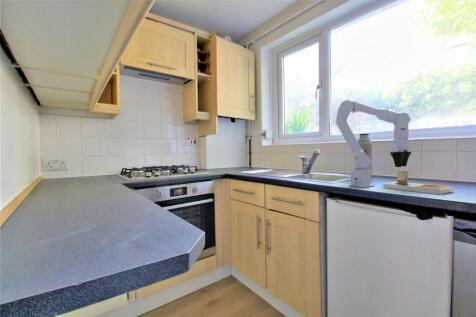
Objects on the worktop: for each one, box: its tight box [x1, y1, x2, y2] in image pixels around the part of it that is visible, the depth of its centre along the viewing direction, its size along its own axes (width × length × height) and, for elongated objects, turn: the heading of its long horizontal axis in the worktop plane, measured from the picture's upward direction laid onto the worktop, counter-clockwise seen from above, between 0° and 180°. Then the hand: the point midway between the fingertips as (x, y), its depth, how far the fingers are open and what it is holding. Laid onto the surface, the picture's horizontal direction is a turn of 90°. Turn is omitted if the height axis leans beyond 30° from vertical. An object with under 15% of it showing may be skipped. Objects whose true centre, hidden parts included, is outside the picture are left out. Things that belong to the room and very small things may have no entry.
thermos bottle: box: [357, 133, 373, 180], centre depth 139 cm, size 8×8×28 cm
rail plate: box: [382, 181, 454, 196], centre depth 104 cm, size 12×22×2 cm, turn 31°
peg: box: [396, 170, 409, 185], centre depth 109 cm, size 4×4×8 cm
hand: (400, 166), depth 111 cm, fingers open, 7 cm apart
